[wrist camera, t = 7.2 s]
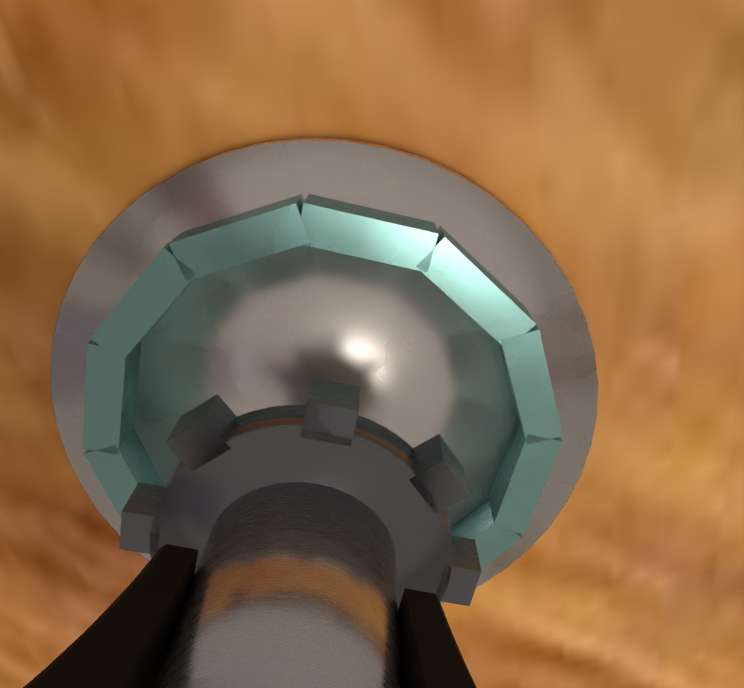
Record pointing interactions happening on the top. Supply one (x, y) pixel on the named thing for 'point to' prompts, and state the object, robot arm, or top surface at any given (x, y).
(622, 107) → the top surface
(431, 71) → the top surface
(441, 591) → the gear
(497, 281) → the plate
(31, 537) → the top surface
